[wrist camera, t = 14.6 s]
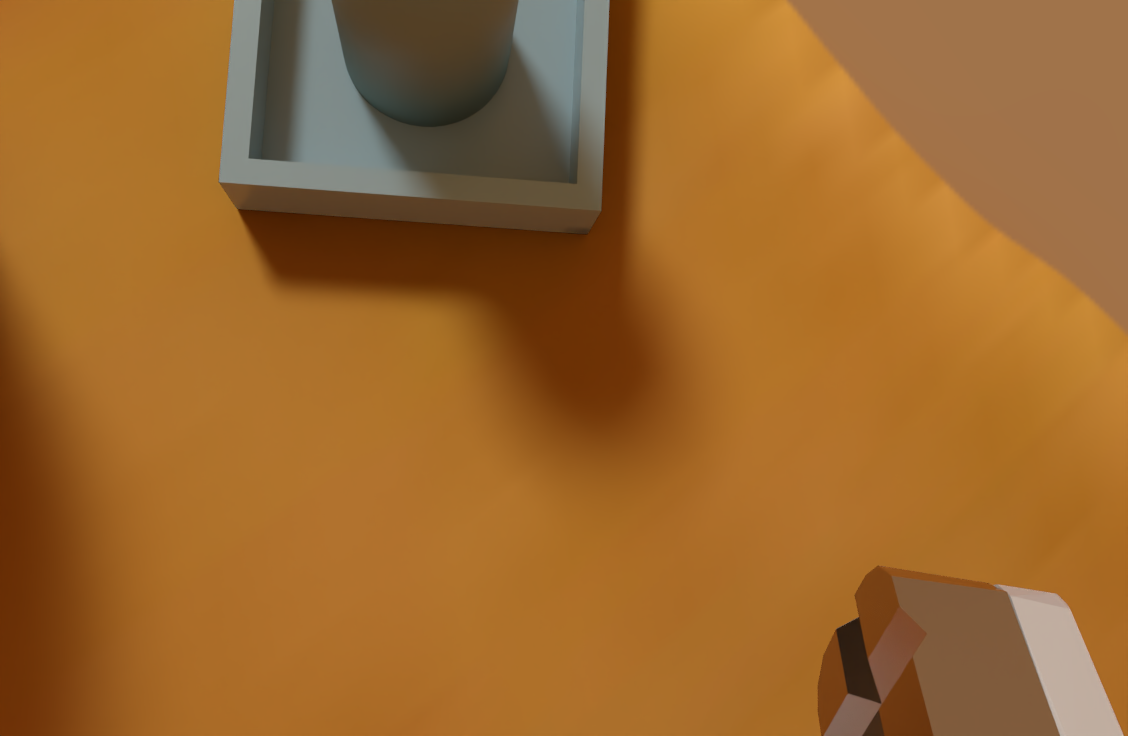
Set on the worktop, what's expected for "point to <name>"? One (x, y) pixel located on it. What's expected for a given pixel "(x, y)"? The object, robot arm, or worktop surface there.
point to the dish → (417, 127)
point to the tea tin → (426, 55)
